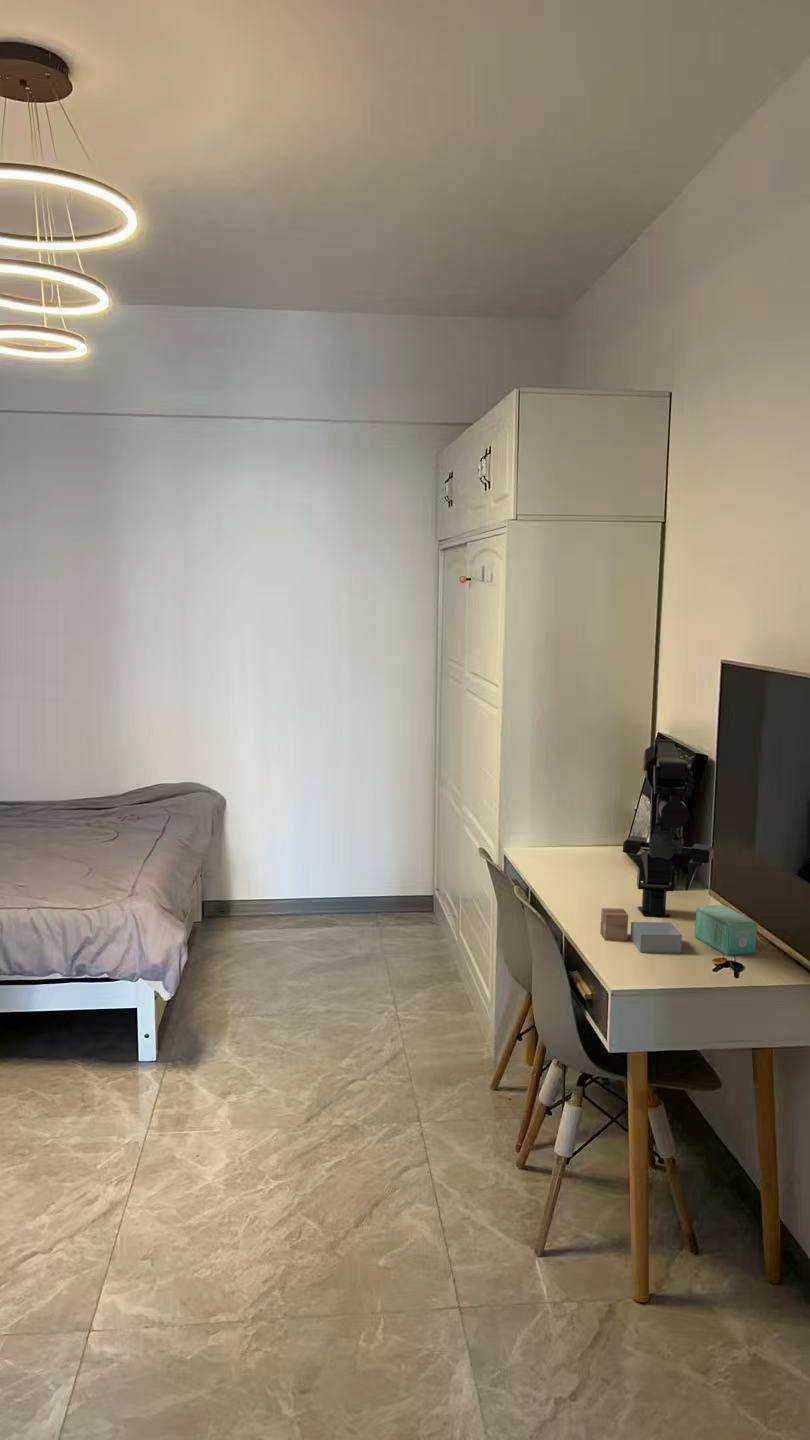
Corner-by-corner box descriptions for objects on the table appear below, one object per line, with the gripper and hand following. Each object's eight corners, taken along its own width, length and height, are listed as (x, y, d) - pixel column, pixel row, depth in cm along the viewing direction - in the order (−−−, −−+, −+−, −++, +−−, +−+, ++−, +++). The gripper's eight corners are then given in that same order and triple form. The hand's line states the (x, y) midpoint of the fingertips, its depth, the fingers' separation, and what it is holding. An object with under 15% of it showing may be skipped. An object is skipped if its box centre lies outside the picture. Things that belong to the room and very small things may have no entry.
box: (727, 956, 234) (729, 923, 233) (693, 937, 247) (695, 905, 246) (756, 954, 236) (758, 921, 236) (721, 935, 249) (723, 904, 248)
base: (630, 939, 245) (631, 921, 244) (669, 939, 245) (670, 922, 244) (640, 952, 236) (640, 934, 235) (681, 952, 236) (681, 935, 235)
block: (600, 933, 248) (601, 908, 248) (621, 933, 249) (623, 908, 248) (604, 940, 243) (606, 914, 243) (626, 940, 244) (628, 915, 243)
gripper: (617, 820, 233) (614, 890, 235) (705, 830, 225) (701, 903, 227) (630, 810, 243) (627, 878, 245) (715, 820, 235) (711, 889, 237)
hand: (665, 887), depth 239 cm, fingers open, 9 cm apart
